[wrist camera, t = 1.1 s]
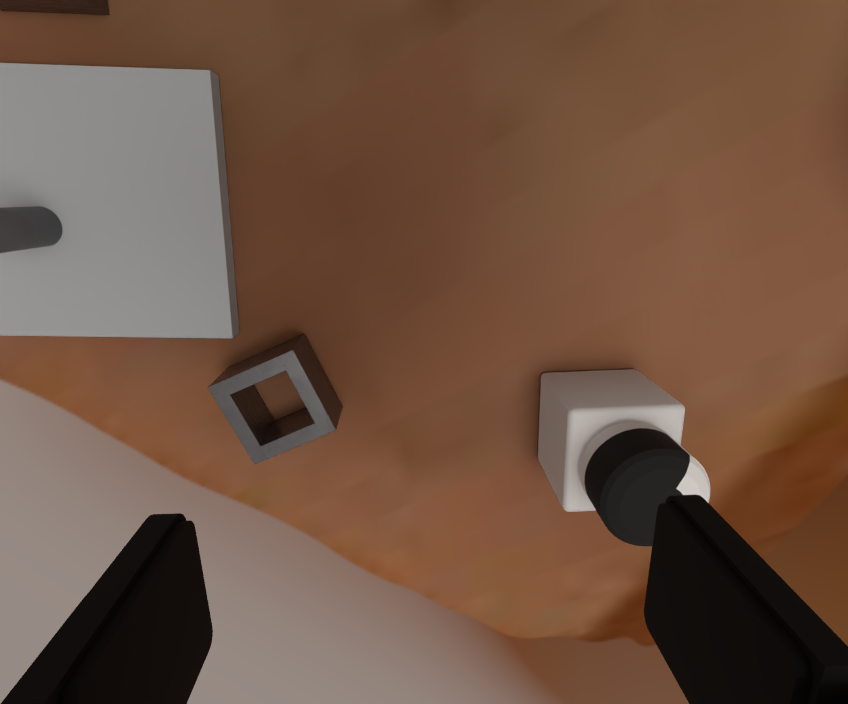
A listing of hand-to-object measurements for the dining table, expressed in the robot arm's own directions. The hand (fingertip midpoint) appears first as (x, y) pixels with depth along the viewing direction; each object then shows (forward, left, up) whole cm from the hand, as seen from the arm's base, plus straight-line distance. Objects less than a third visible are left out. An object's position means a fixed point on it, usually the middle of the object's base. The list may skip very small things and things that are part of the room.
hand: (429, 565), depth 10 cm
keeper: (-6, -20, -27) cm, 34 cm away
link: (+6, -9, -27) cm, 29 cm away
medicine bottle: (+8, +13, -27) cm, 31 cm away
